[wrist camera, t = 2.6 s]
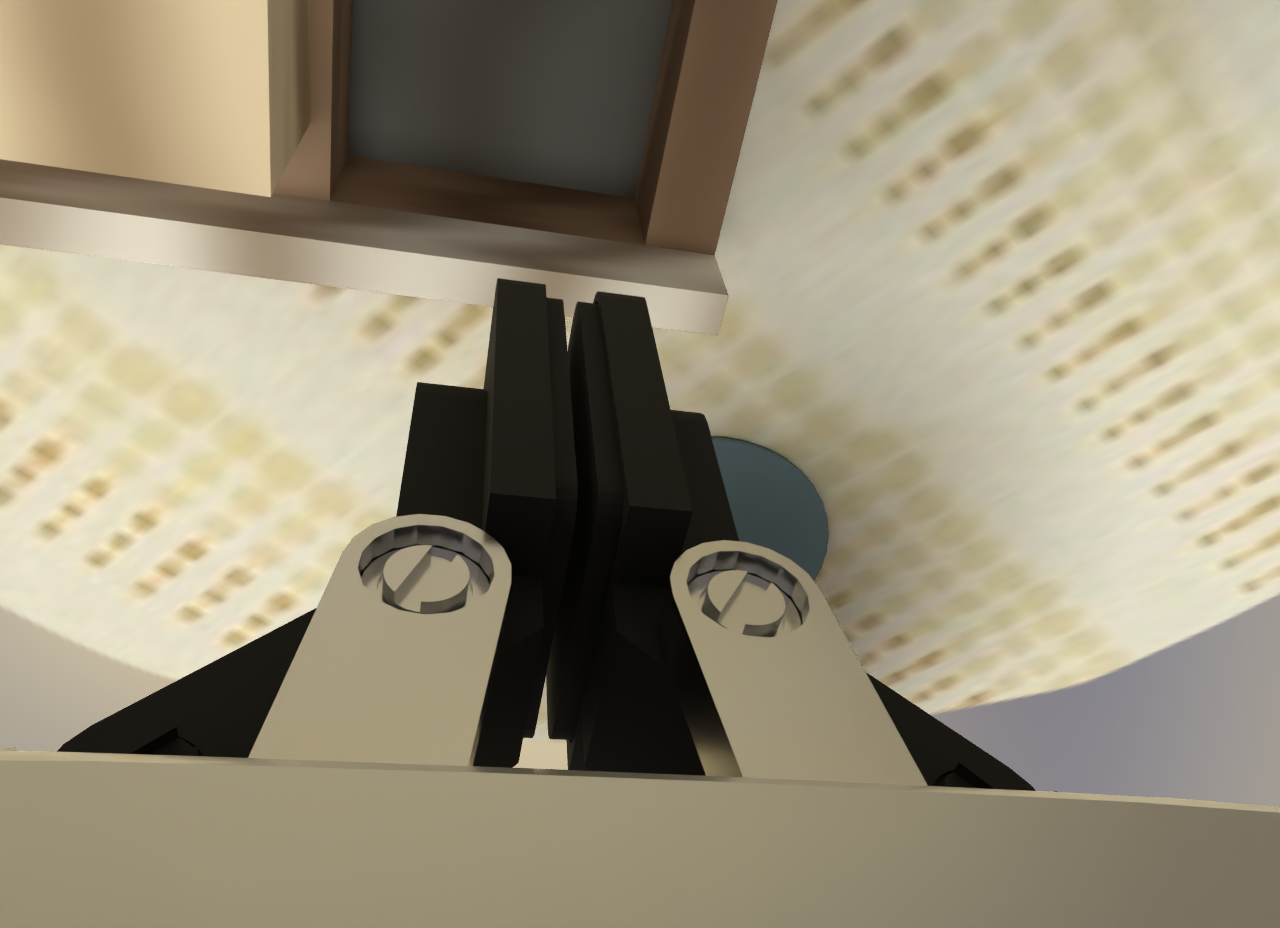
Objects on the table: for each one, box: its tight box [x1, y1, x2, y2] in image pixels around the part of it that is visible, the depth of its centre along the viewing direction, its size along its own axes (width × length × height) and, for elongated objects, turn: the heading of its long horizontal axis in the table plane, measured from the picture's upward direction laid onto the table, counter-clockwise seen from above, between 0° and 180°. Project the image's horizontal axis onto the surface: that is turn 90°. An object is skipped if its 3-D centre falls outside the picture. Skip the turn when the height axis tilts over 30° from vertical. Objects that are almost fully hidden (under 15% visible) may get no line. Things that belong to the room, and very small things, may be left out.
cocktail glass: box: [711, 437, 828, 581], centre depth 31 cm, size 18×18×25 cm
